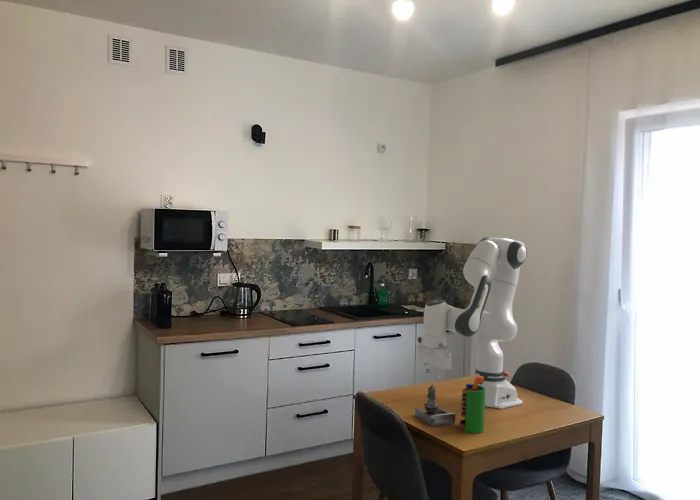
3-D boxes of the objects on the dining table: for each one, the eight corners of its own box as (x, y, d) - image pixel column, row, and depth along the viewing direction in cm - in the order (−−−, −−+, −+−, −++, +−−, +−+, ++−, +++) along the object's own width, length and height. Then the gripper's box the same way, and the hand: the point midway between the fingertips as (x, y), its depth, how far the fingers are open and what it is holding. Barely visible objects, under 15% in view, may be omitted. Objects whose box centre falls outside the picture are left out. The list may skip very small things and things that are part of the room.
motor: (456, 423, 222) (459, 372, 221) (478, 424, 223) (481, 372, 222) (463, 433, 212) (466, 379, 211) (487, 433, 213) (490, 380, 212)
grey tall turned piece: (440, 416, 226) (442, 385, 226) (426, 417, 225) (428, 386, 224) (434, 411, 232) (435, 382, 232) (420, 412, 230) (422, 382, 230)
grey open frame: (415, 415, 230) (415, 405, 229) (436, 413, 234) (437, 403, 233) (432, 426, 218) (432, 416, 217) (454, 423, 222) (455, 413, 222)
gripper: (456, 346, 219) (455, 382, 220) (428, 335, 238) (427, 368, 238) (442, 347, 216) (441, 384, 217) (414, 336, 235) (413, 370, 236)
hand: (433, 375), depth 228 cm, fingers open, 8 cm apart
